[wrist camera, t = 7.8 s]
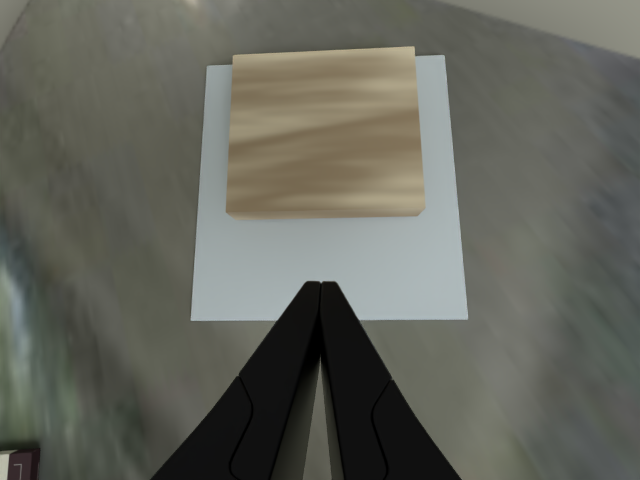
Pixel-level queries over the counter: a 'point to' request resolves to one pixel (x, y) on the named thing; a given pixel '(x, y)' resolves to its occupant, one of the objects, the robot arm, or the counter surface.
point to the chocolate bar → (19, 464)
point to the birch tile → (325, 135)
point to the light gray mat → (332, 233)
